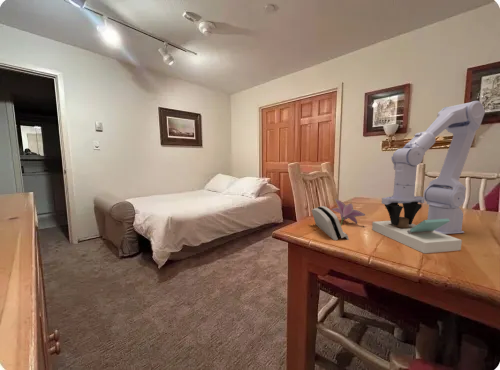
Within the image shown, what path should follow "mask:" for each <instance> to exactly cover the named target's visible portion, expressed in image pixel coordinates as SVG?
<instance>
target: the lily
mask: <svg viewBox="0 0 500 370" xmlns="http://www.w3.org/2000/svg"><path fill="white" fill-rule="evenodd" d="M334 200H335V203H336V205H337V207H334V208H331V211H334V212H336V213H338V214H340V219H341V222H340V225H341V226H342V225H343V221H344V220H348V219H349V220H350V221H352V222H353V223H355V224H358V221H357V218H356V217H364V216H365V217H366V214H365V213H364V212H362V211H361V210H357V209H354V205H353V204H352V203H348V204H345V203H344V202H342V201H341V200H340V199H338V198H335V199H334Z"/></svg>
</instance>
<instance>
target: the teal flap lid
mask: <svg viewBox="0 0 500 370" xmlns="http://www.w3.org/2000/svg"><path fill="white" fill-rule="evenodd" d="M449 221H450V220H449V219H434V220H427V219H424V220H422V221H420V222H419V223H418V224H415V225H416V226H415V227H413V228H412V229H410V230H408V231H407V232H408V233H421V232H433V231H434V230H436V229H437V228H439V227H441V226H442V225H444V224H446V223H448V222H449Z"/></svg>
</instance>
